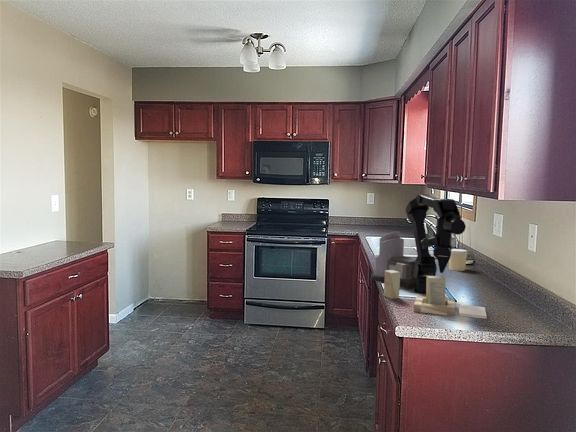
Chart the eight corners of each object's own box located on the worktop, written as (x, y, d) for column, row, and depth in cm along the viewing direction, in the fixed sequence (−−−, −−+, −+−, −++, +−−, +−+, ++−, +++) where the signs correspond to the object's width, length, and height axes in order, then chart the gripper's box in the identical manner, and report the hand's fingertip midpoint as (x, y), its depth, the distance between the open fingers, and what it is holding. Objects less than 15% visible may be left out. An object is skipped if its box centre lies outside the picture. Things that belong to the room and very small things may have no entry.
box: (383, 296, 184) (384, 270, 183) (391, 295, 186) (392, 269, 185) (391, 299, 179) (391, 272, 179) (399, 298, 181) (400, 271, 180)
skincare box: (442, 307, 169) (443, 275, 168) (445, 310, 165) (446, 278, 164) (424, 306, 170) (426, 275, 169) (427, 310, 165) (428, 277, 165)
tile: (458, 307, 170) (458, 304, 170) (484, 309, 167) (484, 307, 167) (458, 315, 159) (459, 313, 159) (486, 318, 156) (486, 316, 156)
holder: (416, 302, 176) (417, 295, 176) (454, 306, 171) (454, 299, 171) (413, 311, 163) (413, 304, 163) (454, 316, 158) (454, 309, 158)
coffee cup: (458, 270, 245) (459, 248, 244) (470, 273, 236) (471, 251, 235) (444, 271, 242) (444, 249, 241) (455, 274, 233) (456, 251, 233)
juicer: (363, 278, 220) (364, 229, 218) (389, 276, 227) (390, 228, 225) (404, 292, 193) (406, 236, 191) (432, 289, 200) (434, 234, 198)
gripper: (424, 227, 186) (422, 264, 187) (420, 232, 169) (418, 273, 170) (452, 229, 182) (450, 266, 183) (451, 234, 164) (449, 276, 166)
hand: (442, 270), depth 176 cm, fingers open, 9 cm apart
